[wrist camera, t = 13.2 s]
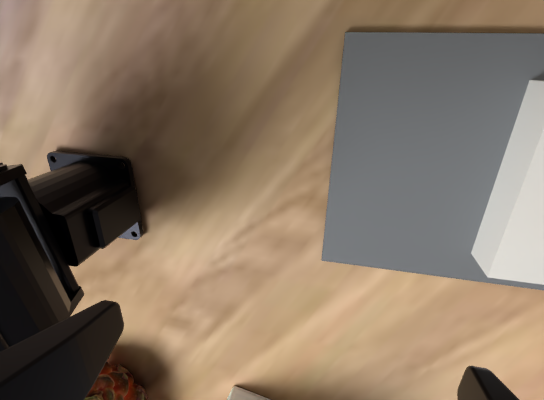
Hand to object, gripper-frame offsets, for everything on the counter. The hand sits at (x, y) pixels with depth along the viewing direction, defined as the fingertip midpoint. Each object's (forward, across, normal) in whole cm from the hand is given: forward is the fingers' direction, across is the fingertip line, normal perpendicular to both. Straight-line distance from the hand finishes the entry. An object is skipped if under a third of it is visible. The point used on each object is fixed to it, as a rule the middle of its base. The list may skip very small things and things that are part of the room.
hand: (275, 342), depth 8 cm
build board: (+13, -11, -1) cm, 17 cm away
